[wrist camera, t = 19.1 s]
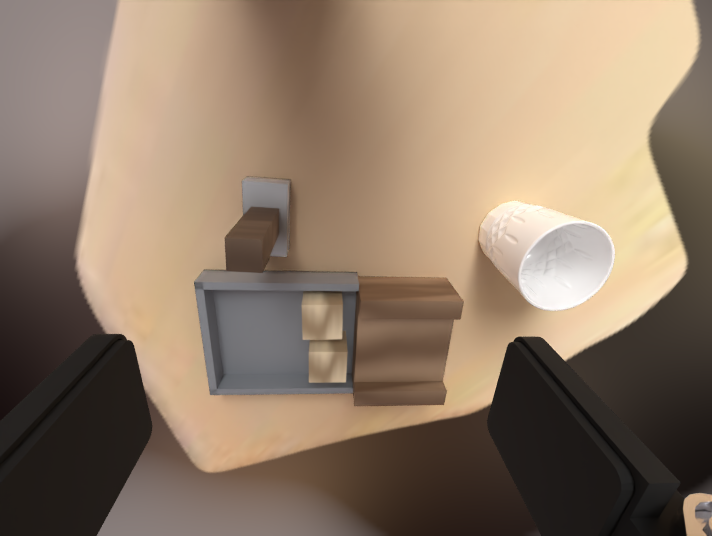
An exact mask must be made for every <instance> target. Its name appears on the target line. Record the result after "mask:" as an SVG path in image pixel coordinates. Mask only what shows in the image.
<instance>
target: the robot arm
mask: <svg viewBox="0 0 712 536" xmlns="http://www.w3.org/2000/svg"><path fill="white" fill-rule="evenodd" d="M487 421H488V422H487V423H488V430H489V433H490V435H491V437H492V439H493V441H494V443H495V445H496V447H497V449H498V451H499V453H500V455H501V457H502V459H503V461H504V463H505V465H506V467H507V469H508V471H509V473H510V475H511V476H512V478H513V480H514V482H515V484H516V486H517V488H518V490H519V492H520V494H521V496H522V498H523V500H524V502H525V504H526V506H527V508H528V510H529V512H530V514H531V516H532V518H533V520H534V522H535V524H536V526H537V528H538V530H539V532H540V534H541V536H712V495H709V494H703V493H697V494H691V495H689V496H688V497H687V498H686V499H684V498H683V497H682V496H681V495H680V493H679V492H678V491H677V490H676V489H677V488H678V486H679V484H680V482H679V481H678V479H676V477H675V476H674V475H673V474H672V473H671V472H670V471H669V470H668V469H667V468H666V467H665V466H664V465H663V464H662V463H661V462H660V461H659V459H658V458H657V457H656V456H655V455H654V454H653V453H652V452H651V451H650V450H649V449H648V448H647V447H646V446H645V445H644V444H643V443H642V442H641V441H640V440H639V439H638V437H637V436H636V435H635V434H634V433H633V432H632V431H631V430H630V429H629V428H628V427H627V426H626V425H625V424H624V423H623V422H622V421H621V420H620V419H619V418H618V417H617V415H616V414H615V413H614V412H613V411H612V410H611V409H610V408H609V407H608V406H607V405H606V404H605V403H604V402H603V401H602V400H601V399H600V398H599V397H598V396H597V395H596V393H595V392H594V391H593V390H592V389H591V388H590V387H589V386H588V385H587V384H586V383H585V382H584V381H583V380H582V379H581V378H580V377H579V376H578V375H577V373H575V371H574V370H573V369H572V368H571V367H570V366H569V365H568V364H567V363H566V362H565V361H564V360H563V359H562V358H561V357H560V356H559V355H558V354H557V353H556V351H555V350H554V349H553V348H552V347H551V346H550V345H549V344H548V343H547V342H546V341H545V340H544V339H543V338H541V337H516V338H515V340H514V342H511V343H509V344H508V347H507V350H506V353H505V357H504V361H503V364H502V368H501V372H500V375H499V379H498V383H497V386H496V390H495V394H494V397H493V401H492V405H491V408H490V412H489V415H488V420H487ZM151 431H152V421H151V417H150V413H149V408H148V405H147V400H146V395H145V391H144V387H143V382H142V378H141V374H140V369H139V365H138V361H137V357H136V352H135V348H134V345H133V343H132V341H130V340H127V339H126V337H125V336H124V335H122V334H94V335H92V336H91V337H89V338H88V339H87V340H86V341H85V342H84V343H83V344H82V345H81V346H80V347H79V348H78V349H77V350H76V351H74V352H73V353H72V354H71V355H70V356H69V357H68V358H67V359H66V360H65V361H64V362H63V363H62V364H61V365H59V366H58V367H57V368H56V369H55V370H54V371H53V372H52V373H51V374H50V375H49V376H48V377H47V378H46V379H45V380H44V381H43V382H41V384H39V385H38V386H37V387H36V388H35V389H34V390H33V391H32V392H31V393H30V394H29V395H28V396H26V398H25V399H24V400H22V401H21V402H20V403H19V404H18V405H17V406H16V407H15V408H14V409H13V410H12V411H11V412H9V413H8V414H7V415H6V416H5V417H4V418H3V419H2V420H1V421H0V536H97V534H98V532H99V530H100V528H101V527H102V525H103V523H104V521H105V519H106V517H107V516H108V514H109V512H110V510H111V508H112V506H113V505H114V503H115V501H116V499H117V497H118V496H119V494H120V492H121V490H122V488H123V486H124V485H125V483H126V481H127V479H128V477H129V475H130V474H131V472H132V470H133V468H134V466H135V465H136V463H137V461H138V459H139V457H140V455H141V454H142V452H143V450H144V448H145V446H146V444H147V443H148V441H149V438H150V436H151Z"/></svg>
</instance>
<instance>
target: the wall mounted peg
mask: <svg viewBox="0 0 712 536" xmlns="http://www.w3.org/2000/svg"><path fill="white" fill-rule="evenodd" d="M290 181H291V180H288V179H275V178H262V177H249V176H248V177H246V178H245V179H244V180H242V196H243V217H242V218H241V219H240V220H239V221H238V223H237V224H236V225H235V226H234V227H233V228H232V230H231V231H230V232H229V233H228V234H227V235H226V237H225V252H226V270H227V271H232V272H251V273H263V271H264V269H265V267H266V264H267V262H268V259H269V257H270V256H279V257H287V254H288V251H289V238H290Z"/></svg>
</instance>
